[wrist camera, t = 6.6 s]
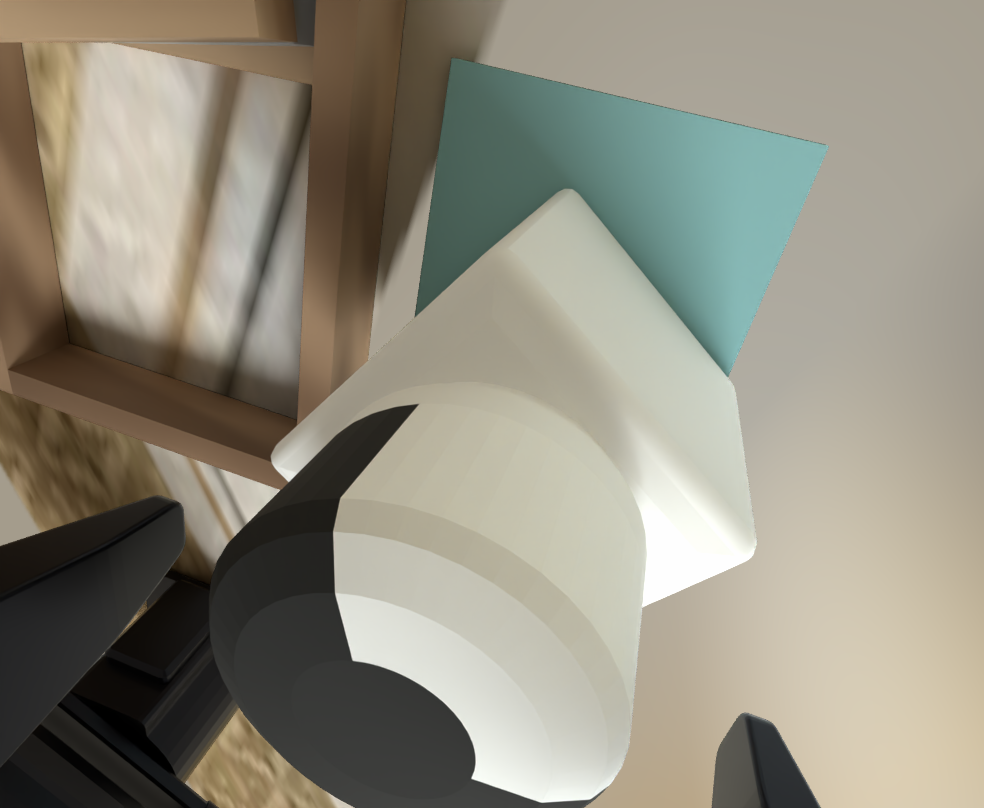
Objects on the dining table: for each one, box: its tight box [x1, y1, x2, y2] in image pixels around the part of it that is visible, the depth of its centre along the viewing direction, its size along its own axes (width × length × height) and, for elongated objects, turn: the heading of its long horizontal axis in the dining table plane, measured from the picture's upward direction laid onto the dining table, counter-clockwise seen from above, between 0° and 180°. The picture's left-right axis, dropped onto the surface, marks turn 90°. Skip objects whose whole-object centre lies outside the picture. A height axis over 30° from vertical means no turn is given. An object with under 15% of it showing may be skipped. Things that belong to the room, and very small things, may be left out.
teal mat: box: [415, 58, 829, 378], centre depth 18 cm, size 14×9×1 cm, turn 169°
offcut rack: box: [0, 0, 406, 490], centre depth 17 cm, size 20×13×2 cm, turn 169°
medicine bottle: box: [209, 189, 757, 808], centre depth 13 cm, size 7×7×12 cm
